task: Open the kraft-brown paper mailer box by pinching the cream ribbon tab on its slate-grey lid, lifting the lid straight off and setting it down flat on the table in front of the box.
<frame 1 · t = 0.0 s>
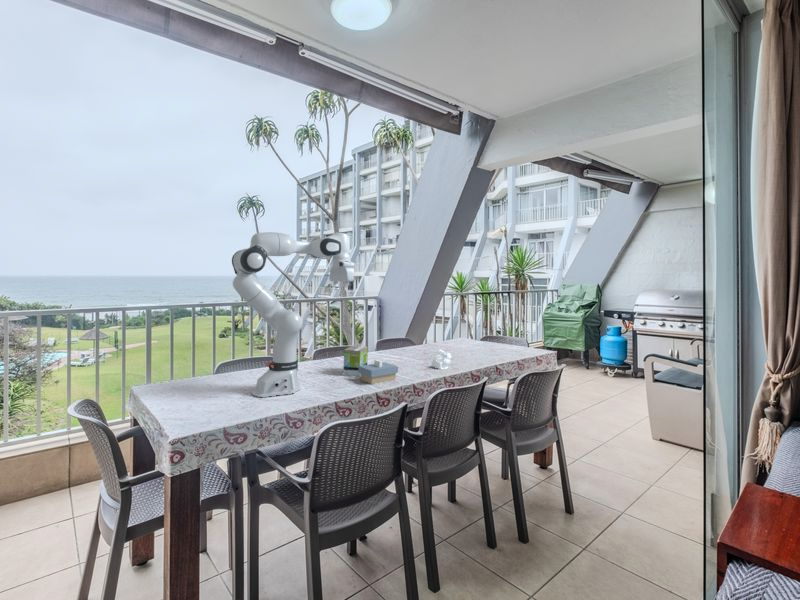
hand: (341, 290, 207), 48 cm above the table, tool pointing down, fingers open, 8 cm apart
mailer box: (378, 380, 211), on the table
mailer lid: (378, 372, 211), point 4 cm above the table, touching mailer box
rabbit: (442, 368, 239), on the table
tea box: (355, 373, 226), on the table
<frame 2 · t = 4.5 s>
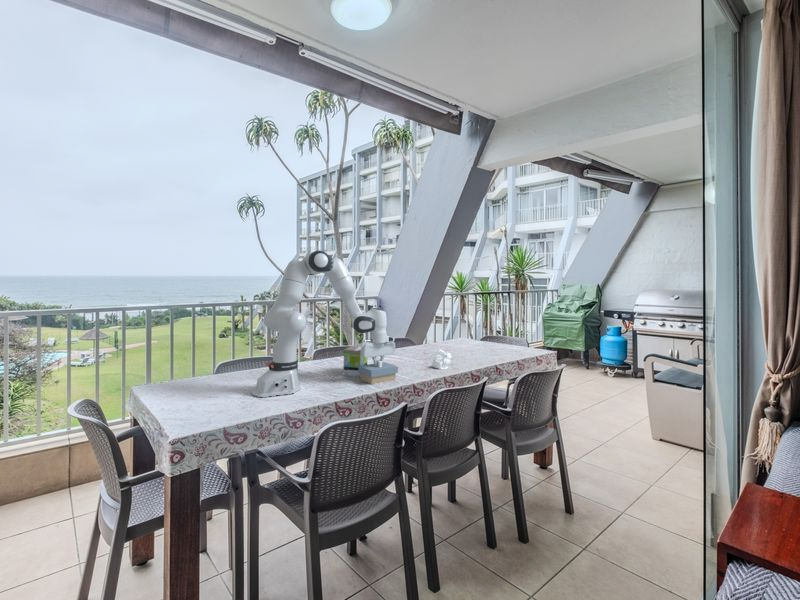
hand: (378, 364, 211), 9 cm above the table, tool pointing down, fingers closed on mailer lid
mailer lid: (378, 372, 211), point 4 cm above the table, touching gripper, mailer box
everything else where it was.
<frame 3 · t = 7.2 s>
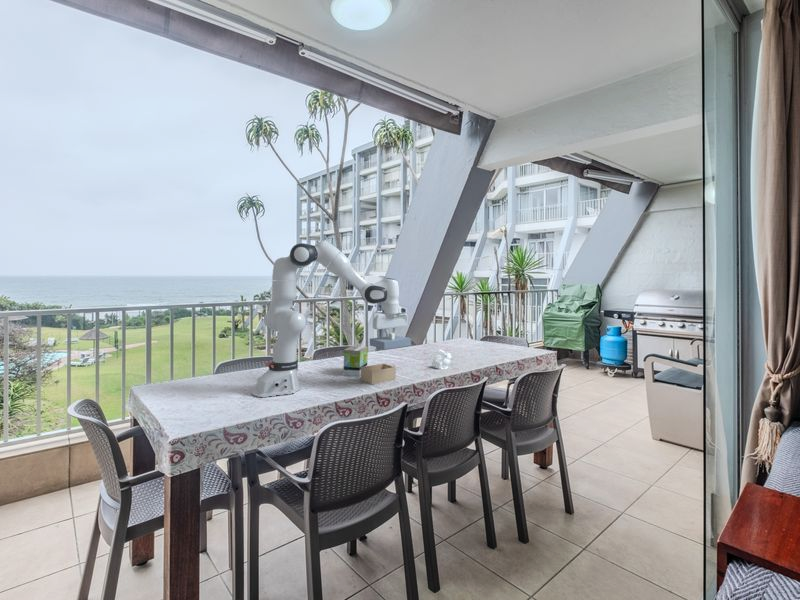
hand: (390, 336, 201), 25 cm above the table, tool pointing down, fingers closed on mailer lid
mailer lid: (390, 345, 202), point 20 cm above the table, touching gripper
everything else where it was.
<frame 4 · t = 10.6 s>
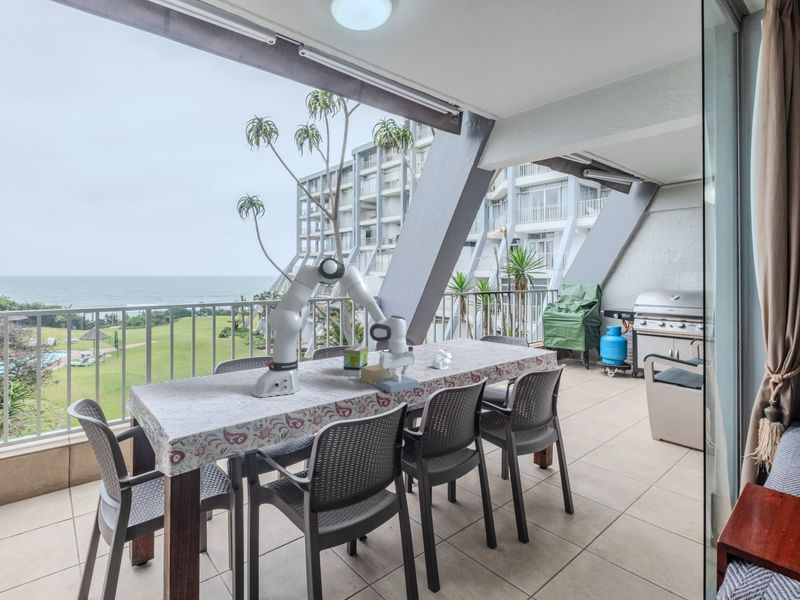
hand: (397, 375, 197), 6 cm above the table, tool pointing down, fingers open, 6 cm apart
mailer lid: (396, 387, 198), on the table
everything else where it was.
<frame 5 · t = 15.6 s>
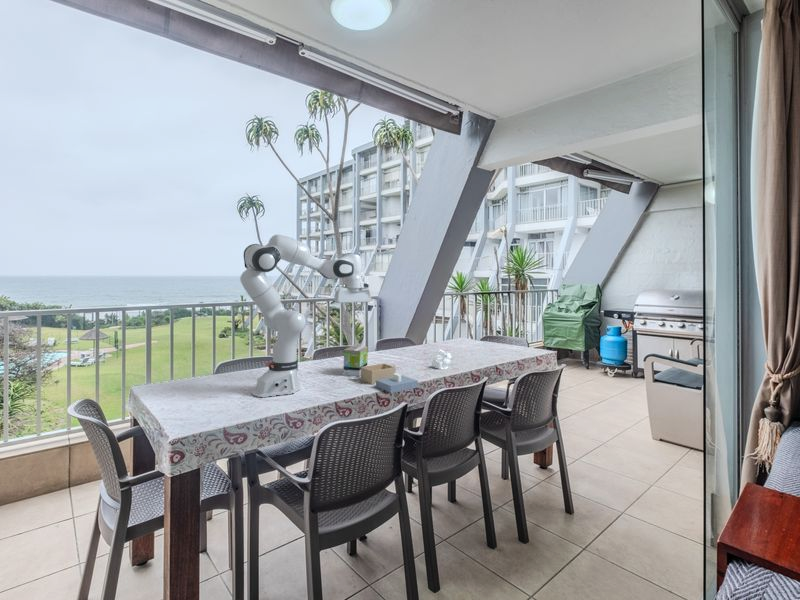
hand: (353, 311, 206), 37 cm above the table, tool pointing down, fingers open, 8 cm apart
nothing on the table moved.
at the end: mailer lid inside the target area (0.1 cm from its centre), on the table; mailer lid tilted 0°; mailer lid touching table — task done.
